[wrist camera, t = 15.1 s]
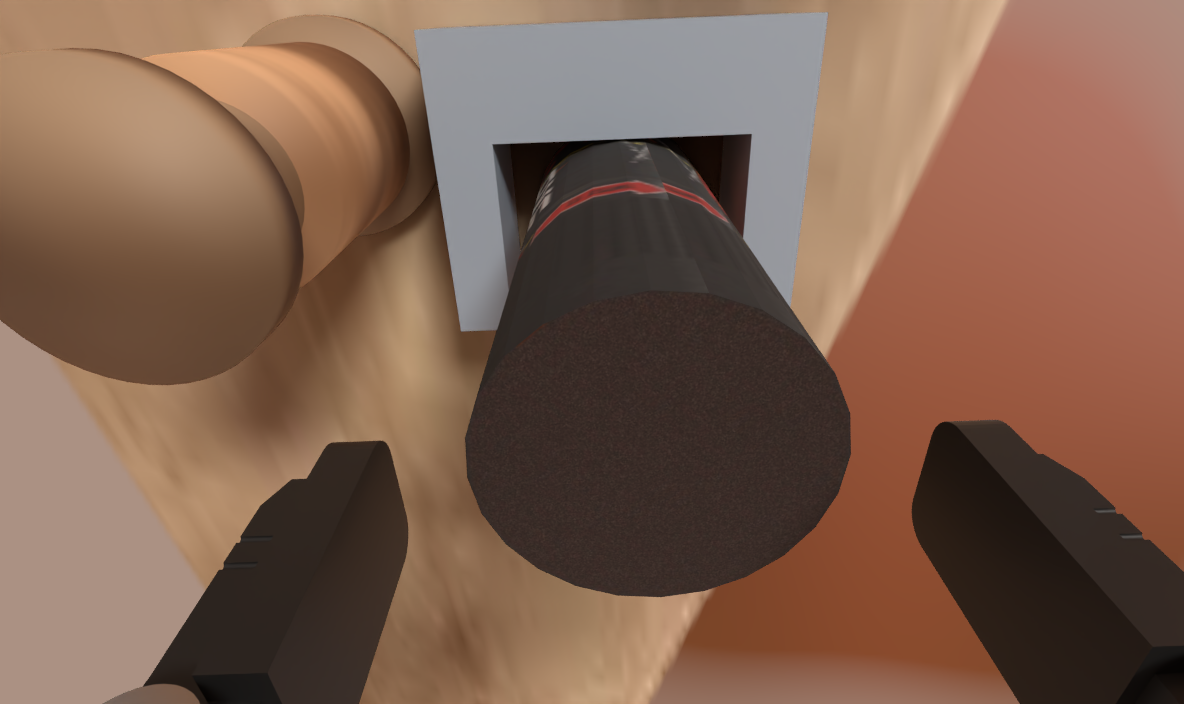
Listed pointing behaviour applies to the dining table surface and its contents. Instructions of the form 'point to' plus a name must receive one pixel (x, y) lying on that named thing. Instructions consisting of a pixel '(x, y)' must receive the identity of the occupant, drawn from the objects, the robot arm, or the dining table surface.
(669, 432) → the deodorant
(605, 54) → the notch board
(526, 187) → the dining table surface
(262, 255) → the bobbin
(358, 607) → the robot arm
